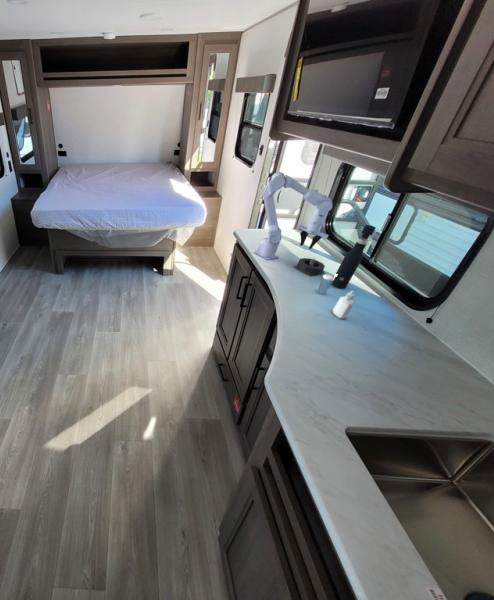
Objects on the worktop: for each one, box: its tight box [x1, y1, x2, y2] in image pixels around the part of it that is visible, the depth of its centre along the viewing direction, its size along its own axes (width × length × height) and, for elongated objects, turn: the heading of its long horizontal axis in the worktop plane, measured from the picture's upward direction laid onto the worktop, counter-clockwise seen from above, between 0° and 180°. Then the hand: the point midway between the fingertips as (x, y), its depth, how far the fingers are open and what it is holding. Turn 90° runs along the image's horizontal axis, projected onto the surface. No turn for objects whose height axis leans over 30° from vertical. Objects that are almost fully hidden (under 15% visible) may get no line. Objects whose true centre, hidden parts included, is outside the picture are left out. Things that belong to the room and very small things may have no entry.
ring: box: [296, 257, 326, 275], centre depth 160 cm, size 12×12×3 cm
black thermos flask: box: [330, 224, 377, 290], centre depth 141 cm, size 6×6×30 cm
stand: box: [293, 258, 325, 277], centre depth 159 cm, size 10×10×6 cm
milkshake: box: [316, 274, 338, 295], centre depth 140 cm, size 4×5×10 cm
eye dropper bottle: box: [332, 290, 355, 320], centre depth 126 cm, size 4×6×12 cm
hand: (305, 246), depth 163 cm, fingers open, 4 cm apart
